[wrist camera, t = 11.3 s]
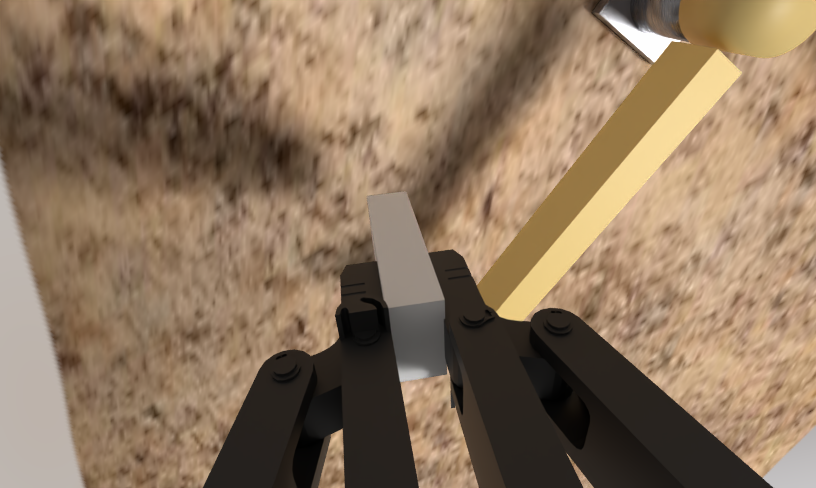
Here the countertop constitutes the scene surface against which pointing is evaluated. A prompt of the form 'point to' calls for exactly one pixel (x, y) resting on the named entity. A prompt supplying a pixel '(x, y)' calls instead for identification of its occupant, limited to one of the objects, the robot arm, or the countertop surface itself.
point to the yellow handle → (640, 140)
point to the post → (643, 24)
